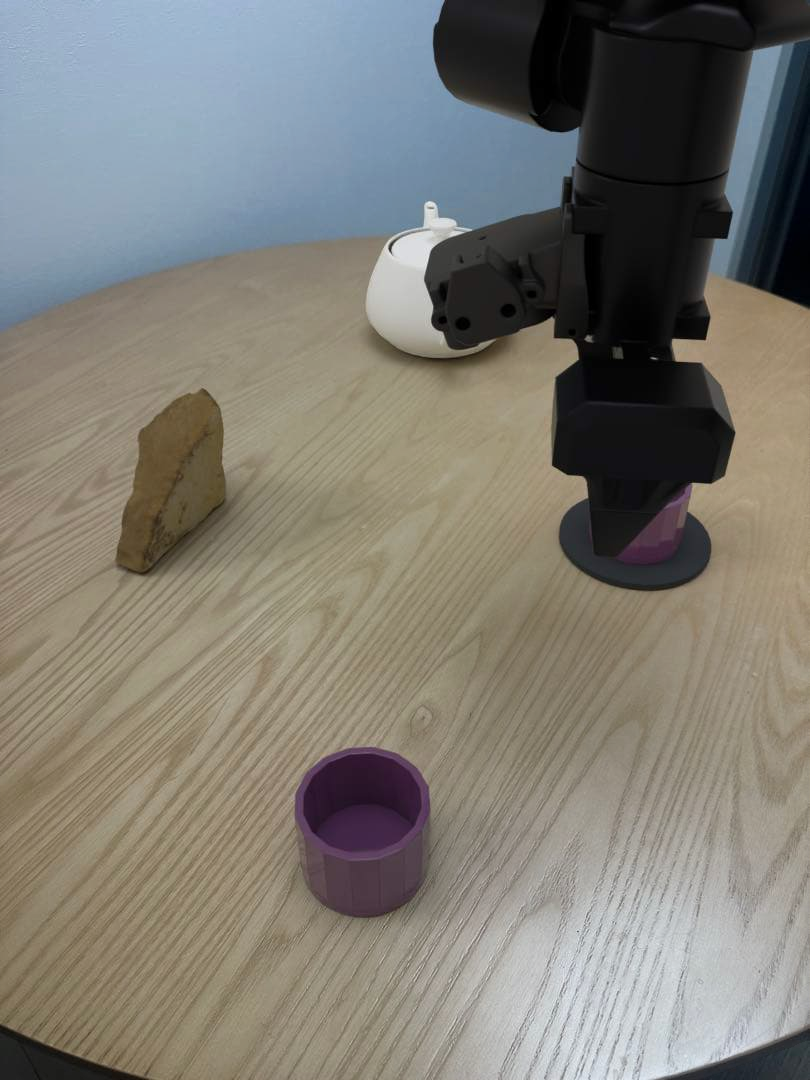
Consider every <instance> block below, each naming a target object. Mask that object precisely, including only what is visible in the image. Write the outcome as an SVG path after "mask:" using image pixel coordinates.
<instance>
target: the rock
mask: <svg viewBox="0 0 810 1080" xmlns="http://www.w3.org/2000/svg"><path fill="white" fill-rule="evenodd" d="M224 428H225V427H224V421H223V416H222V410H221V407H220V405H219V404H218V402H217V401H216V400H215V399H214V397H213V396H212V394H211V393H210V392H209V391H208V390H207V389H205V388H203V387H201V388H199V389H198V391H197V392H195V393H191V392H188V393H185V394H183V395H180V396H179V397H177V398H174V399H173V400H172V401H171V402H170V403H169V404H168V405H167V406H165V407H164V409H162V411H160V412H159V413H157V414H155V416H154V417H153V419H152V420H151V421H150V422H149V423H147V424H146V426H144V427H141V428H140V430H139V431H138V434H137V443H138V459H137V463H136V466H135V470H134V478H133V482H132V493H131V495H130V497H129V498H128V499H127V501H126V502H125V506H124V509H123V511H122V515H121V516H122V517H121V522H120V523H121V524H120V525H121V533H120V536H119V539H118V542H117V546H116V556H115V559H114V562H115V563H116V564H117V565H119V566H123V567H125V568H128V569H130V570H132V571H133V572H137V573H140V574H141V573H145V572H146V571H147V570H149V569H151V568H152V567H153V566H154V565H155V564H156V563H157V562H158V560H159V559H161V558H162V556H163V555H164V554H166V553H167V552H168V551H170V549H171V548H173V547H174V546H176V544H177V542H178V541H180V540H181V539H182V538H183V537H184V536H185V535H186V534H188V533H190V532H191V531H193V530H194V529H196V527H197V526H198V525H199V524H200V523H202V521H204V520H205V519H206V517H207V516H209V514H210V513H211V512H212V510H214V509H215V508H217V507H219V506H220V505H221V504H222V503H223V502H224V501H225V498H226V497H227V480H226V475H225V470H224V466H223V458H224V457H223V449H224V438H225V437H224V434H225V431H224V430H225V429H224Z"/></svg>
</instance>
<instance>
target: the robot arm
mask: <svg viewBox="0 0 810 1080" xmlns="http://www.w3.org/2000/svg"><path fill="white" fill-rule="evenodd" d="M809 40H810V2H809V0H444V1H443V3H442V6H441V8H440V13H439V17H438V21H436V23H435V24H434V26H433V31H432V51H433V60H434V61H433V62H434V64H435V68H436V72H437V74H438V77H439V79H440V80H441V83H442V85H443V86H444V88H445V89H446V90H447V92H449V93H450V94H451V96H453V97H454V99H457V100H459V101H461V102H462V103H465V104H467V105H471V106H474V107H476V108H479V109H482V110H485V111H488V112H491V113H494V114H497V115H500V116H503V117H506V118H509V119H512V120H515V121H518V122H521V123H523V124H527V125H530V126H532V127H536V128H539V129H541V130H545V131H548V132H551V133H559V134H560V133H561V134H562V133H569V132H571V131H574V130H577V129H578V135H577V147H576V153H575V154H576V157H575V163H574V166H573V165H572V166H571V168H570V169H571V170H570V176H568V175H567V176H566V175H564V176H563V178H562V184H561V185H562V186H561V193H560V194H561V196H560V204H559V206H556V207H552V208H549V209H544V210H541V211H538V212H533V213H525V214H520V215H517V216H512V217H510V218H507V219H503V220H500V221H498V222H494V223H491V224H488V225H484V226H482V227H479V228H476V229H471V230H472V231H469V232H466V233H462V234H459V235H456V236H453V237H450V238H448V239H445V240H443V241H441V242H440V243H438V244H437V245H435V246H434V247H433V248H432V250H431V251H430V255H429V259H428V263H427V267H426V272H425V276H424V282H425V285H426V288H427V290H428V293H429V296H430V299H431V301H432V304H433V312H432V317H431V324H432V326H433V327H434V328H435V329H436V330H438V331H441V332H443V334H444V337H445V340H446V343H447V345H448V347H449V348H450V349H453V350H465V349H469V348H473V347H476V346H478V345H479V344H480V343H483V342H487V341H490V340H494V339H496V340H498V339H500V338H504V337H508V336H511V335H515V334H518V333H519V332H520V331H521V330H524V329H527V328H531V327H535V326H538V325H540V324H543V323H544V322H546V321H548V320H550V319H551V318H552V319H553V339H556V340H557V339H560V340H571V341H572V342H573V343H574V344H575V346H576V348H577V354H578V355H577V357H578V359H577V360H576V361H575V362H573V363H572V364H571V365H569V366H568V367H567V368H566V369H564V370H562V371H561V372H560V373H559V374H558V375H556V376H555V379H554V388H553V397H552V410H551V411H552V412H551V426H550V437H551V438H550V439H551V444H550V445H551V447H550V448H551V467H553V468H555V469H557V470H558V471H559V472H561V473H563V474H565V475H566V476H570V477H571V476H572V477H573V476H574V477H582V478H583V479H584V480H585V483H586V489H587V498H588V502H589V514H590V525H591V536H592V547H593V554H594V555H595V556H597V557H607V558H616V557H618V556H619V555H620V554H621V553H622V552H623V551H624V550H625V549H626V548H627V547H628V546H629V545H630V544H631V543H632V542H633V541H634V539H635V538H636V537H637V536H638V535H639V534H640V533H641V532H642V531H643V530H644V529H645V528H646V527H647V526H648V525H649V524H650V522H651V521H652V520H653V519H654V518H655V517H656V516H657V515H658V514H659V513H660V512H661V511H662V510H663V509H664V508H665V507H666V506H667V505H668V504H669V503H670V502H671V501H672V500H673V499H674V498H675V497H677V496H678V495H679V494H680V493H681V492H682V491H683V490H684V489H686V488H687V487H688V486H689V485H690V484H691V483H692V484H702V485H713V484H714V483H716V482H718V481H719V480H721V479H723V478H725V477H726V473H727V469H728V465H729V461H730V458H731V453H732V449H733V445H734V442H735V437H736V429H735V426H734V421H733V419H732V416H731V412H730V409H729V405H728V402H727V400H726V396H725V392H724V389H723V386H722V384H720V382H719V381H718V380H717V379H716V377H714V375H713V374H712V373H711V372H710V371H709V370H708V368H706V367H707V366H705V364H703V362H697V361H696V362H695V361H677V360H676V355H675V351H674V346H673V340H687V341H689V340H690V341H707V337H708V332H709V328H710V322H711V318H712V315H711V313H710V311H709V310H710V309H709V307H708V304H707V302H706V297H705V289H706V286H707V281H708V280H707V279H708V276H709V275H708V274H709V270H710V264H711V262H712V261H711V260H712V255H713V251H714V247H715V246H714V245H715V241H716V240H728V239H729V233H730V229H731V226H732V225H731V224H732V220H733V215H734V210H733V208H732V207H731V204H730V202H729V200H728V198H727V195H726V193H725V192H726V187H727V183H728V178H729V174H730V168H731V163H732V159H733V153H734V148H735V143H736V138H737V134H738V128H739V125H740V119H741V114H742V110H743V104H744V99H745V94H746V90H747V85H748V80H749V77H750V76H749V75H750V71H751V66H752V60H753V56H754V52H755V51H758V50H763V49H768V48H769V49H770V48H773V47H774V48H775V47H778V46H783V45H790V44H794V43H795V44H796V43H799V42H805V41H809ZM497 338H498V339H497Z"/></svg>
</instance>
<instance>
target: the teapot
mask: <svg viewBox="0 0 810 1080" xmlns="http://www.w3.org/2000/svg"><path fill="white" fill-rule="evenodd" d="M423 212H424V213H423V215H424V218H423V226H422V227H416V228H411V229H408V230H404V231H402V232H399V233H397V234H395V235H394V236H392V237H390V239H389V240H387V242H386V243H385V245H384V247H383V249H382V250H381V252H380V254H379V257H378V259H377V261H376V263H375V266H374V268H373V271H372V273H371V276H370V279H369V283H368V287H367V291H366V296H365V297H366V298H365V311H366V315H367V318H368V321H369V323H370V325H371V326H372V327H373V328H374V330H375V331H376V332H377V334H379V335H380V336H381V337H382V338H384V339H385V340H386V341H387V342H389V344H391V345H392V346H394V347H395V348H396V349H398V350H400V351H402V352H403V353H406V354H410V355H413V356H417V357H418V356H419V357H422V358H432V359H449V358H460V357H464V356H469V355H472V354H476V353H478V352H480V351H482V350H484V349H486V348H487V347H488V346H490V345H491V344H492V343H494V342H495V341H497V340H498V339H499V338H497V339H494V340H490V341H487V342H483V343H480V344H479V345H478V346H476V347H473V348H469V349H465V350H453V349H450V348H449V347H448V345H447V343H446V340H445V337H444V334H443V332H441V331H438V330H436V329H435V328H434V327H433V326H432V324H431V317H432V312H433V304H432V301H431V299H430V296H429V293H428V290H427V288H426V285H425V282H424V276H425V272H426V267H427V263H428V259H429V255H430V251H431V250H432V248H433V247H434V246H435V245H437V244H438V243H440V242H441V241H443V240H445V239H448V238H450V237H453V236H456V235H459V234H462V233H466V232H469V231H472V230H473V229H471V228H468V227H460V226H458V224H457V221H456V220H455V219H453V218H449V217H440V216H439V210H438V206H437V204H436V203H435V202H434V201H426V202H425V203H424V205H423Z"/></svg>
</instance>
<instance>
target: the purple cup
mask: <svg viewBox="0 0 810 1080" xmlns="http://www.w3.org/2000/svg"><path fill="white" fill-rule="evenodd" d="M692 491H693V483H691V484H690V485H689V486H688V487H687V488H686V489H684V490H683V491H682V492H681V493H680V494H679V495H678V496H677V497H675V498H674V499H673V500H672V501H671V502H670V503H669V504H668V505H667V506H666V507H665V508H664V509H663V510H662V511H661V512H660V513H659V514H658V515H657V516H656V517H655V518H654V519H653V520H652V521H651V522H650V524H649V525H648V526H647V527H646V528H645V529H644V530H643V531H642V532H641V533H640V534H639V535H638V536H637V537H636V538H635V539H634V541H633V542H632V543H631V544H630V545H629V546H628V547H627V548H626V549H625V550H624V551H623V552H622V553H621V554H620V555H619V556H618V557H616V558H613V559H615V560H618V561H621V562H625V563H630V564H639V565H645V564H654V563H658V562H662V561H664V560H666V559H668V558H670V557H671V556H672V555H674V554H675V552H676V551H677V550H678V548H679V544H680V541H681V536H682V532H683V528H684V523H685V519H686V514H687V511H688V510H689V506H690V501H691V496H692ZM589 537H590V540H591V542H592V536H591V525H590V519H589Z"/></svg>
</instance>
